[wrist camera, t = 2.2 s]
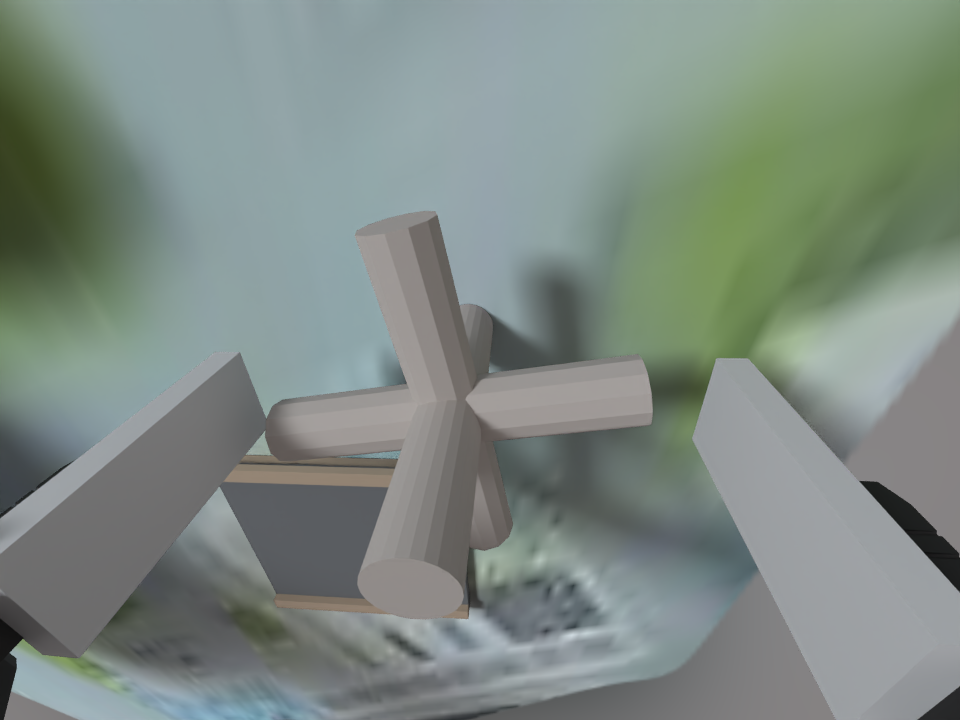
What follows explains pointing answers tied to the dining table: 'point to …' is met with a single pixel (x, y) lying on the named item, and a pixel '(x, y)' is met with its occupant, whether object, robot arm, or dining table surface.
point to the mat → (313, 526)
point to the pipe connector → (444, 421)
